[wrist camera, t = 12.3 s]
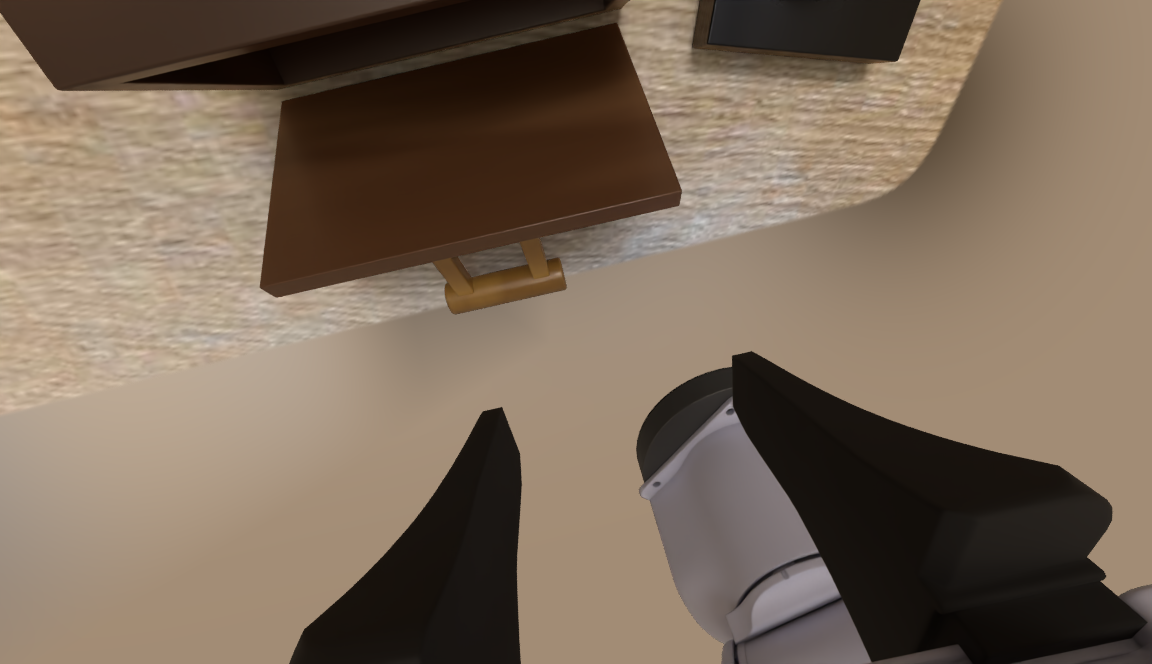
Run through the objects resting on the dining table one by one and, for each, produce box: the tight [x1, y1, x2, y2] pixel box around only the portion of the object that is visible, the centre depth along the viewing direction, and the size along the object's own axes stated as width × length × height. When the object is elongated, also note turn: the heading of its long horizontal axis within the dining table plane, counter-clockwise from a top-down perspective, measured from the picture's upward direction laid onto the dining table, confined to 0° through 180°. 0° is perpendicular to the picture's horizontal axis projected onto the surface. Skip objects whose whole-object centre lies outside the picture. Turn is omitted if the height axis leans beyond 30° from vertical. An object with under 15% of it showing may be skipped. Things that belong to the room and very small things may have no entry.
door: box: [260, 23, 682, 314], centre depth 17 cm, size 6×13×8 cm
